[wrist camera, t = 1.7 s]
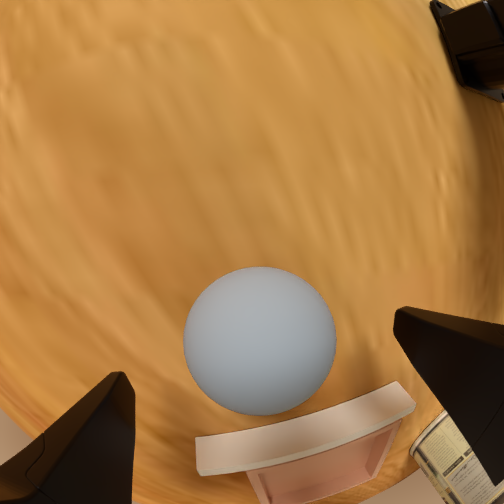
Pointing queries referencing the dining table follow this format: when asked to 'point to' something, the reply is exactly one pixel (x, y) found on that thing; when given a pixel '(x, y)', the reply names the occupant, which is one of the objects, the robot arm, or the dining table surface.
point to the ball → (259, 341)
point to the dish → (324, 470)
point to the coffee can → (453, 465)
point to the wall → (302, 433)
